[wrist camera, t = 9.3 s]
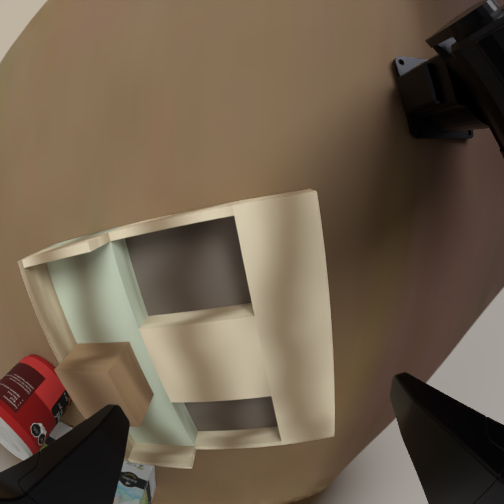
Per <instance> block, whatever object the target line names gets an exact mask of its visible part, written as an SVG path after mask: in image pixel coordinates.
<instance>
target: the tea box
mask: <svg viewBox="0 0 504 504" xmlns="http://www.w3.org/2000/svg"><path fill="white" fill-rule="evenodd" d="M72 429H73V428H72V427H70V426H69V425H67V424H65V423H63V422H62V421H61V422H58V424H57V425H56V426H55V428H54V429H53V430H52V432H51V433H50V435H49V436H48V438H47V439H46V441H45V442H44V444H43V446H42V447H41V449H43V448H45V447H46V446H48V445H49V444H51V443H52V442H54V441H55V440H57V439H58V438H60V437H61V436H63V435H64V434H66V433H67V432H69V431H70V430H72ZM41 449H40V450H39V451H41ZM155 489H156V482H155V466H153V465H145V464H138V463H132V462H126V461H125V460H124V463H123V467H122V471H121V474H120V478H119V482H118V486H117V490H116V494H115V498H114V503H113V504H151V502H152V499H153V496H154V492H155Z"/></svg>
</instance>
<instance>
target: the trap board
mask: <svg viewBox="0 0 504 504" xmlns="http://www.w3.org/2000/svg"><path fill="white" fill-rule="evenodd" d="M18 265H19V268H20V271H21V274H22V277H23V280H24V283H25V286H26V289H27V292H28V294H29V297H30V300H31V302H32V305H33V308H34V310H35V313H36V315H37V317H38V320H39V322H40V324H41V327H42V329H43V331H44V333H45V336H46V338H47V340H48V342H49V344H50V346H51V348H52V350H53V352H54V354H55V356H56V358H57V360H58V362H59V364H60V363H61V361H62V360H63V359H64V358H65V357H66V356H67V355H68V354H69V353H70V352H71V350H72V349H73V348H74V347H75V346H76V345H77V344H78V343H109V342H130V345H131V347H132V349H133V351H134V354H135V356H136V358H137V360H138V362H139V365H140V367H141V369H142V371H143V373H144V375H145V377H146V379H147V381H148V383H149V385H150V387H151V389H152V391H153V393H154V396H153V398H152V400H151V402H150V405H149V407H148V409H147V412H146V414H145V416H144V419H143V421H142V423H141V426H140V427H131V426H130V428H129V434H128V440H127V446H126V452H125V458H124V460H125V461H126V462H132V463H138V464H145V465H153V466H162V467H173V468H188V469H192V468H193V463H194V458H195V454H196V449H240V448H255V447H267V446H276V445H285V444H292V443H299V442H306V441H312V440H317V439H323V438H328V437H333V436H334V430H335V401H334V362H333V341H332V325H331V311H330V298H329V287H328V276H327V266H326V257H325V248H324V240H323V232H322V224H321V217H320V210H319V203H318V196H317V191H315V190H312V189H306V190H300V191H293V192H287V193H281V194H275V195H269V196H263V197H258V198H252V199H247V200H241V201H236V202H230V203H225V204H220V205H215V206H210V207H205V208H200V209H195V210H191V211H186V212H181V213H177V214H172V215H167V216H163V217H159V218H154V219H150V220H146V221H141V222H137V223H133V224H129V225H125V226H121V227H117V228H113V229H109V230H105V231H101V232H97V233H93V234H90V235H86V236H82V237H78V238H75V239H71V240H68V241H64V242H61V243H57V244H54V245H52V246H50V247H47V248H45V249H43V250H41V251H38V252H36V253H34V254H32V255H30V256H28V257H25V258H23V259H21V260H19V261H18Z"/></svg>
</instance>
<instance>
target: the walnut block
mask: <svg viewBox="0 0 504 504" xmlns="http://www.w3.org/2000/svg"><path fill="white" fill-rule="evenodd" d="M54 370H55V372H56V374H57V376H58V377H59V379H60V381H61V382H62V384H63V386H64V387H65V389H66V391H67V392H68V394H69V396H70V397H71V399H72V400H73V402H74V403H75V405H76V406H77V408H78V409H79V411H80V412H81V414H82V415H83V417H84V418H85V419H88V418H89V417H90V416H92V415H93V414H95V413H96V412H98V411H99V410H100V409H102V408H103V407H105V406H106V405H108V404H117V405H119V406H120V407H121V408H122V410H123V411H124V413H125V415H126V416H127V418H128V419H129V422H130V426H131V427H140V426H141V423H142V421H143V419H144V416H145V414H146V412H147V409H148V407H149V405H150V402H151V400H152V398H153V396H154V393H153V391H152V389H151V387H150V385H149V383H148V381H147V379H146V377H145V375H144V373H143V371H142V369H141V367H140V365H139V362H138V360H137V358H136V356H135V354H134V351H133V349H132V347H131V345H130V342H109V343H78V344H77V345H76V346H75V347H74V348H73V349H72V350H71V352H70V353H69V354H68V355H67V356H66V357H65V358H64V359H63V360H62V361H61V363H60V364H59V365H58V366H57V367H56V368H55V369H54Z"/></svg>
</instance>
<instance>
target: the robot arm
mask: <svg viewBox="0 0 504 504" xmlns="http://www.w3.org/2000/svg"><path fill="white" fill-rule="evenodd" d="M426 42H427V43H428V45H429V46H430V47H431V48H432V47H433V48H434V49H435V51H436V52H437V53H438V54H437V55H435V56H434V57H432V58H430V59H428V60H427V59H420V58H411V57H401V56H398V57H396V58H395V59H394V61H393V63H394V66H395V70H396V73H397V77H398V79H397V82H398V85H399V89H400V93H401V97H402V101H403V106H404V110H405V111H406V113H407V118H408V123H409V128H410V133H411V135H412V137H413V138H415V139H430V138H456V139H470V138H472V137H473V130H475V129H484V128H490V130H491V132H492V133H493V135H494V137H495V139H496V141H497V143H498V145H499V147H500V152H501V154H502V156H503V158H504V6H502V7H500V6H499V5H498V3H497V2H496V1H495V0H483V1H481V2H479V3H477V4H475V5H473V6H472V7H470V8H469V9H467V10H466V11H464V12H463V13H461V14H460V15H458V16H457V17H455V18H454V19H453V20H451V21H450V22H449V23H447V24H446V25H445V26H443V27H442V28H441V29H440V30H438V31H437V32H436V33H434V34H433V35H432V36H431V37H429V38H428V39H427V40H426ZM398 61H400V62H401V63H402V65H401V64H399V62H398ZM416 129H417V130H418V135H417V134H416V132H415V130H416ZM467 131H468V133H467ZM390 398H391V402H392V405H393V408H394V412H395V415H396V418H397V421H398V425H399V428H400V432H401V435H402V438H403V441H404V443H405V446H406V448H407V450H408V453H409V455H410V457H411V460H412V462H413V465H414V467H415V470H416V472H417V475H418V477H419V480H420V482H421V485H422V487H423V490H424V492H425V495H426V498H427V500H428V503H429V504H504V425H503V424H501V423H499V422H497V421H495V420H493V419H491V418H489V417H486V416H485V415H483V414H481V413H479V412H477V411H475V410H474V409H472V408H470V407H467V406H466V405H464V404H462V403H461V402H459V401H457V400H455V399H453V398H451V397H449V396H448V395H446V394H444V393H442V392H440V391H439V390H437V389H435V388H433V387H431V386H429V385H428V384H426V383H424V382H422V381H421V380H419V379H417V378H415V377H414V376H412V375H410V374H408V373H406V372H403V373H400V374H397V375H394V376H393V379H392V385H391V392H390ZM129 428H130V422H129V419H128V418H127V416H126V415H125V413H124V411H123V410H122V408H121V407H120V406H119V405H117V404H108V405H106V406H105V407H103V408H102V409H100V410H99V411H98V412H96V413H95V414H93V415H92V416H90V417H89V418H88V419H86V420H85V421H83V422H82V423H80V424H79V425H77V426H76V427H74V428H73V429H72V430H70V431H69V432H67V433H66V434H64V435H63V436H61V437H60V438H58V439H57V440H55V441H54V442H52V443H51V444H49V445H48V446H46V447H45V448H43V449H41V451H38V452H37V453H35V454H34V455H32V456H31V457H29V458H27V459H26V460H24V461H22V462H20V463H18V464H17V465H14V466H12V467H10V468H8V469H6V470H4V471H2V472H0V504H113V503H114V498H115V494H116V490H117V486H118V482H119V478H120V474H121V471H122V467H123V463H124V458H125V452H126V446H127V440H128V434H129Z"/></svg>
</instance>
